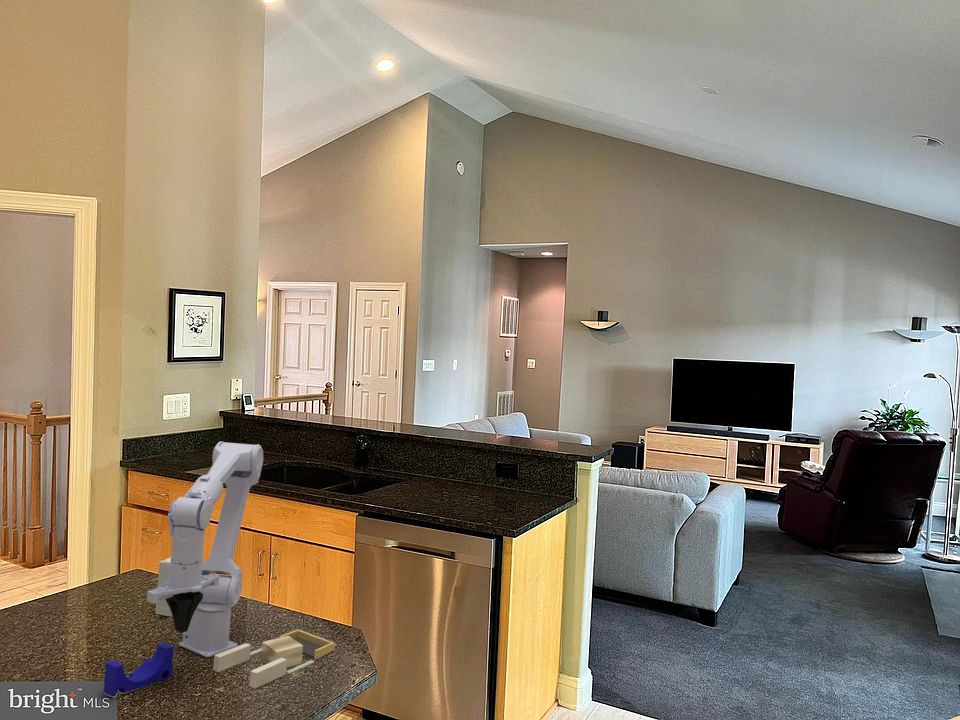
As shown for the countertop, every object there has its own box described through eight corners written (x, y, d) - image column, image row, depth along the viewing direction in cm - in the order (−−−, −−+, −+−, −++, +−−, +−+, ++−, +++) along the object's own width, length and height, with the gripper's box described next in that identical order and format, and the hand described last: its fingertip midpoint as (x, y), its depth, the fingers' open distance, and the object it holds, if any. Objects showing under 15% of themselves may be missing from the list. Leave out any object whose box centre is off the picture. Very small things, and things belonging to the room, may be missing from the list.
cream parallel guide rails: (213, 670, 145) (214, 655, 145) (244, 657, 152) (246, 643, 152) (254, 688, 139) (256, 673, 138) (285, 674, 145) (287, 659, 145)
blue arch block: (156, 670, 143) (159, 640, 143) (171, 677, 141) (173, 646, 141) (98, 692, 133) (100, 660, 133) (113, 700, 131) (115, 667, 130)
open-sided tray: (278, 644, 159) (279, 636, 159) (297, 637, 164) (297, 629, 164) (316, 659, 153) (316, 650, 153) (334, 651, 158) (334, 642, 158)
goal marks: (245, 655, 152) (245, 654, 152) (270, 645, 158) (270, 644, 158) (289, 674, 146) (289, 672, 146) (314, 662, 152) (314, 661, 152)
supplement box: (182, 619, 169) (186, 565, 169) (154, 614, 170) (158, 561, 170) (200, 608, 176) (204, 557, 176) (173, 604, 177) (177, 552, 177)
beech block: (261, 661, 151) (262, 641, 151) (287, 654, 155) (288, 635, 155) (275, 671, 147) (276, 652, 147) (301, 664, 151) (303, 645, 151)
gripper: (166, 573, 130) (160, 648, 130) (231, 557, 143) (226, 625, 143) (142, 564, 134) (136, 637, 134) (207, 549, 146) (202, 616, 146)
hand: (181, 630), depth 139 cm, fingers closed
